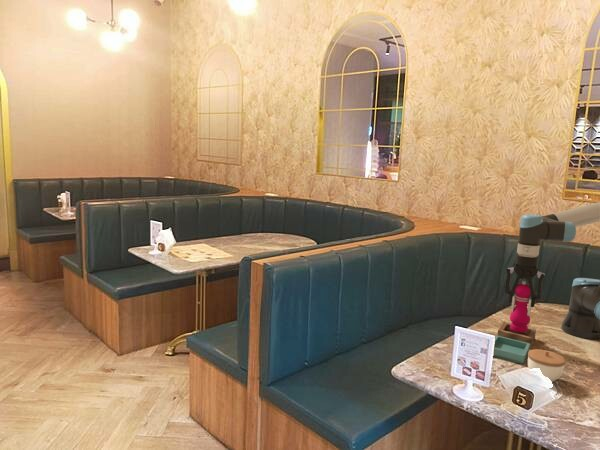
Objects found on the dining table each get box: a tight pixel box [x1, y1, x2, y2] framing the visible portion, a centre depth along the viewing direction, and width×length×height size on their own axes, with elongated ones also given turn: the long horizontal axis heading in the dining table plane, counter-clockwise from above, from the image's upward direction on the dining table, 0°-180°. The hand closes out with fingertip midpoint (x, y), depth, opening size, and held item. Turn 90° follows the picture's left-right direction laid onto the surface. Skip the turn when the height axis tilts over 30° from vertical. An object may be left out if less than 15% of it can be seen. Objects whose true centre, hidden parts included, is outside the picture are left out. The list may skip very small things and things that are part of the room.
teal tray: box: [493, 334, 531, 365], centre depth 171 cm, size 12×14×3 cm
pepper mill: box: [509, 279, 531, 332], centre depth 182 cm, size 7×7×20 cm
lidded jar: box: [527, 348, 566, 383], centre depth 152 cm, size 11×11×9 cm
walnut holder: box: [497, 321, 537, 350], centre depth 184 cm, size 12×12×4 cm
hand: (520, 313), depth 183 cm, fingers closed on pepper mill, 5 cm apart
